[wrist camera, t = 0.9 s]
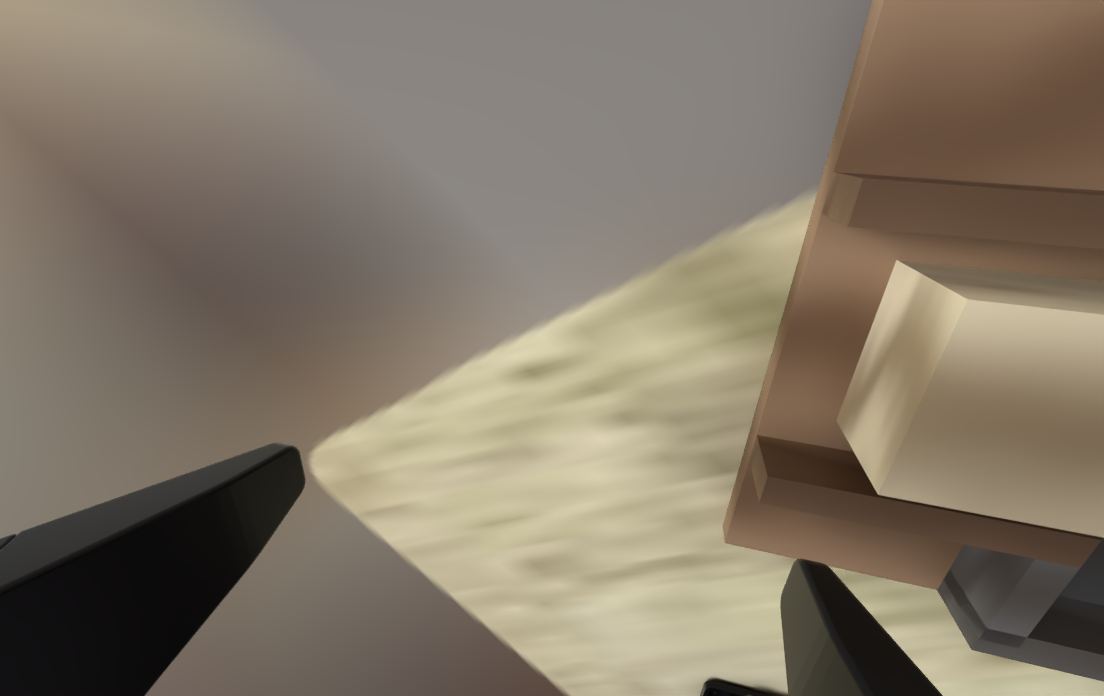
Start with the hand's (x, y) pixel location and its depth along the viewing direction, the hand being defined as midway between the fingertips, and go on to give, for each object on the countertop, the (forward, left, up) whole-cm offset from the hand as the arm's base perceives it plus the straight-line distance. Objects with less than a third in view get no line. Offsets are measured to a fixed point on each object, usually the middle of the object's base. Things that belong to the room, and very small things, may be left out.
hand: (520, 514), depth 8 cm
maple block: (0, -12, -11) cm, 16 cm away
